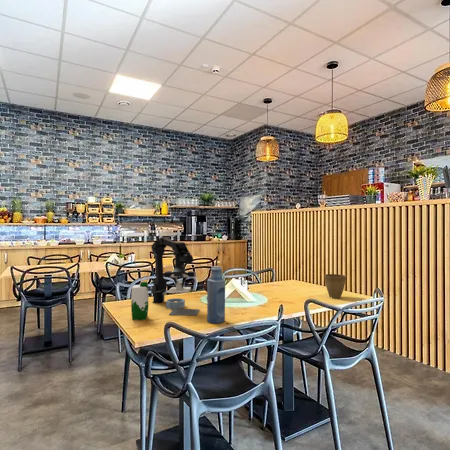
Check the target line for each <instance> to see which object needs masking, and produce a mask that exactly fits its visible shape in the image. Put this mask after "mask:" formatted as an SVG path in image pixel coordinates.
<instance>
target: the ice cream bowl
mask: <svg viewBox="0 0 450 450" xmlns="http://www.w3.org/2000/svg"><path fill="white" fill-rule="evenodd" d="M210 278H211V276H209V277H206V278H204V284H202V288H203V290H204V291H205V292H206V293H207V280H208V279H210Z"/></svg>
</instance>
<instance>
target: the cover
mask: <svg viewBox="0 0 450 450" xmlns="http://www.w3.org/2000/svg"><path fill="white" fill-rule="evenodd" d="M177 281H178V280H177ZM182 281H183V280H182ZM182 281H178V282H177V283H176V285H175V286H172V287H171V288H169V290H167V293H189V292H190V290H191V289H192V287H191V286H183V288H182Z"/></svg>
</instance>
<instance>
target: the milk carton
mask: <svg viewBox="0 0 450 450" xmlns="http://www.w3.org/2000/svg"><path fill="white" fill-rule="evenodd" d="M130 301H131V302H130V303H131V305H130V307H131V308H130V309H131V320H132V321H146V319H147V318H148V312H149V285H148V281H141V282H140V283H139V284H134V285H133V286H132V287H131V298H130Z"/></svg>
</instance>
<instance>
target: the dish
mask: <svg viewBox="0 0 450 450" xmlns="http://www.w3.org/2000/svg"><path fill="white" fill-rule="evenodd" d="M174 301H177V302H174ZM185 303H186V300H185V299H184V298H181V297H180V298H169V299H167V300H166V301H165V304H166V305H165V307H166V308H167V309H169V310H173V309H185V305H186V304H185Z"/></svg>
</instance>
